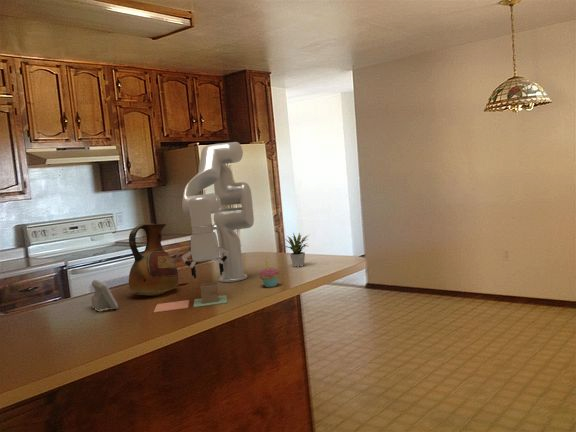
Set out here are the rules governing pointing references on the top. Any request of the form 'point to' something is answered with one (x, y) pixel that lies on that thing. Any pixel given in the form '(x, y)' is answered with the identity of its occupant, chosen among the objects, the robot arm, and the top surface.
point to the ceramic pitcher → (151, 264)
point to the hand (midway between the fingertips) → (208, 275)
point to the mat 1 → (171, 306)
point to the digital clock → (102, 296)
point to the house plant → (297, 250)
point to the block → (209, 292)
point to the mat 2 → (221, 301)
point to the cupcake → (269, 276)
